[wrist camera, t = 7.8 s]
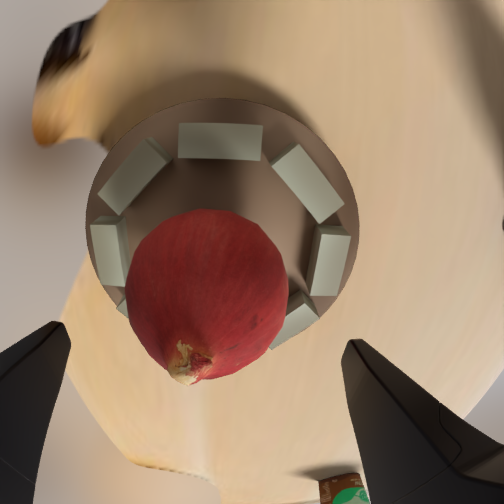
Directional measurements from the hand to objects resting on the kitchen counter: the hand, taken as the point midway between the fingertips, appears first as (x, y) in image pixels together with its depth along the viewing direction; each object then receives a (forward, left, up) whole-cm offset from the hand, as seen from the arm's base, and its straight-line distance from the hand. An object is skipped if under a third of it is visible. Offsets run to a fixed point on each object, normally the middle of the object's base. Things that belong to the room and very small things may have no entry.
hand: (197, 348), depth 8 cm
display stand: (0, 0, -8) cm, 8 cm away
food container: (-22, +45, -9) cm, 51 cm away
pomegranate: (0, 0, -7) cm, 7 cm away
